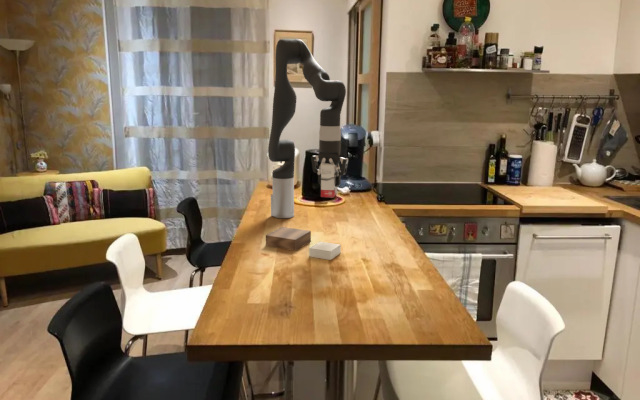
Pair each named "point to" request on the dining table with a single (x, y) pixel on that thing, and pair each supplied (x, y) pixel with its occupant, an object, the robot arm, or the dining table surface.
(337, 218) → the dining table surface
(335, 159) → the robot arm
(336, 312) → the dining table surface
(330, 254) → the white square block
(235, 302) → the dining table surface
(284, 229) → the walnut slab
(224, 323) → the dining table surface
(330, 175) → the ink box
